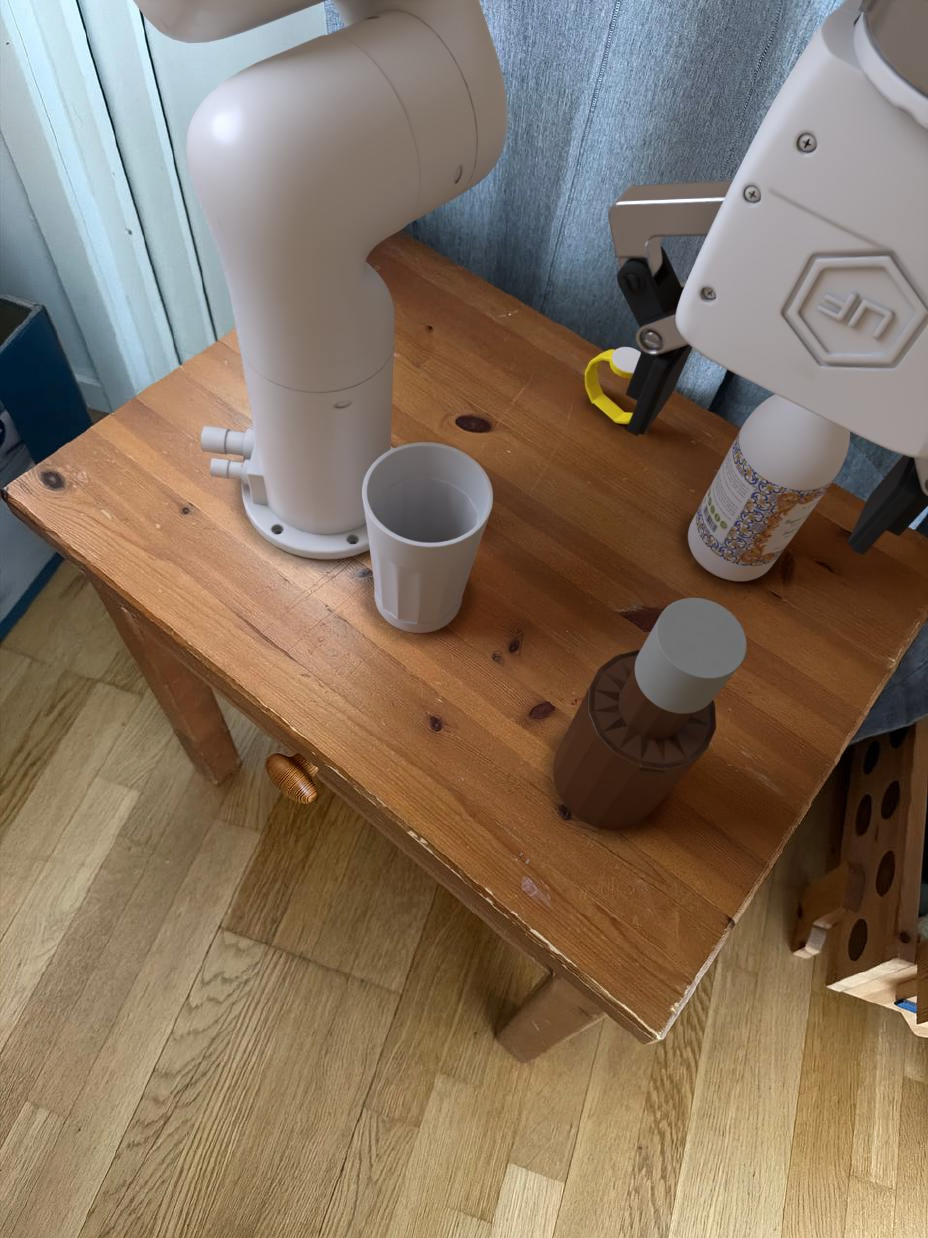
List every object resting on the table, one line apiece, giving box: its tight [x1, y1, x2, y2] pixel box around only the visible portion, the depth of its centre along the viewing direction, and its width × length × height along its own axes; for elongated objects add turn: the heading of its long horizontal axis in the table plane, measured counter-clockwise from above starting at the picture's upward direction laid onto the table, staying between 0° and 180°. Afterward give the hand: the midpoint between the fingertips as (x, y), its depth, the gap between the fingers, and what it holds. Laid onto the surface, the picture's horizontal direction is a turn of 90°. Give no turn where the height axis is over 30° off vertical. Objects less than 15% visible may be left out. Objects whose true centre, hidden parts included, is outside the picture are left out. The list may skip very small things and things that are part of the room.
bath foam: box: [687, 393, 851, 582], centre depth 61 cm, size 7×7×20 cm
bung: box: [635, 597, 748, 714], centre depth 45 cm, size 4×4×6 cm
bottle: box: [552, 649, 717, 830], centre depth 53 cm, size 7×7×15 cm
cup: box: [362, 441, 494, 634], centre depth 60 cm, size 8×8×12 cm
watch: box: [584, 346, 641, 425], centre depth 73 cm, size 6×3×6 cm, turn 44°
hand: (754, 468), depth 36 cm, fingers open, 9 cm apart
